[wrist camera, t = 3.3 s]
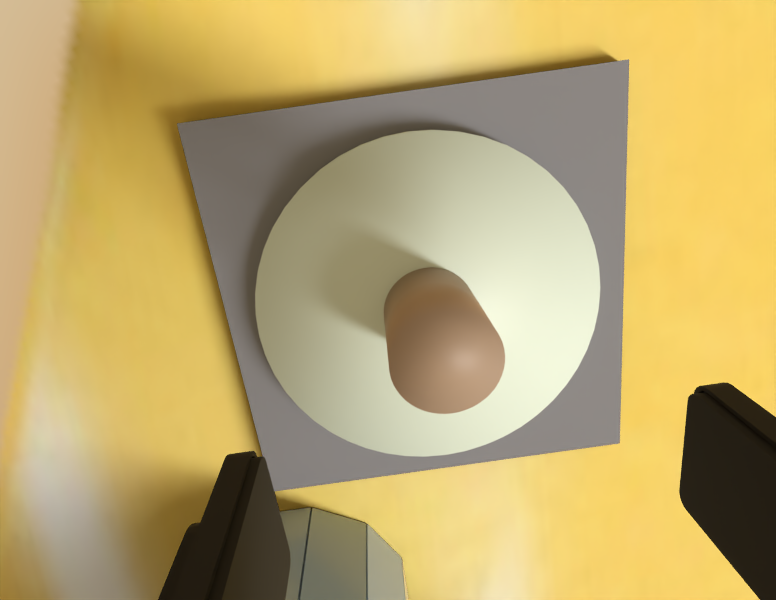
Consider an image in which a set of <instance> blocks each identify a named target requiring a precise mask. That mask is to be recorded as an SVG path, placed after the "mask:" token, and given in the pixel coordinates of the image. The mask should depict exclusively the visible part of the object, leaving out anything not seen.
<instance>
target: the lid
mask: <svg viewBox="0 0 776 600" xmlns="http://www.w3.org/2000/svg"><path fill="white" fill-rule="evenodd" d="M599 299H600V273H599V264H598V259H597V254H596V249H595V245H594V242H593V239H592V236H591V234H590V231H589V228H588V225H587V223H586V221H585V219H584V218H583V216H582V214H581V212H580V210H579V208H578V206H577V205H576V203H575V202H574V201H573V199H572V198H571V197H570V195H569V194H568V193H567V191H566V190H565V188H564V187H563V186H562V185H561V184H560V183H559V182H558V181H557V180H556V179H555V178H554V177H553V176H552V175H551V174H550V173H549V172H548V171H547V170H546V169H544V168H543V167H542V166H540V165H539V164H537V163H536V162H535V161H533V160H532V159H531V158H529V157H528V156H526V155H524V154H522V153H521V152H519V151H517V150H515V149H513V148H511V147H509V146H508V145H505V144H502V143H500V142H497V141H494V140H491V139H489V138H486V137H483V136H478V135H473V134H468V133H464V132H458V131H444V130H419V131H407V132H402V133H397V134H392V135H388V136H383V137H380V138H378V139H375V140H372V141H369V142H367V143H364V144H361V145H359V146H357V147H355V148H353V149H351V150H349V151H347V152H346V153H344V154H342V155H340V156H338V157H337V158H335V159H334V160H333V161H331V162H330V163H328V164H327V165H326V166H324V167H323V168H321V169H320V170H319V171H318V172H317V173H316V174H315V175H314V176H312V177H311V178H310V179H309V180H308V181H307V182H306V183H305V184H304V185H303V186H302V187H301V188H300V189H299V190H298V192H297V193H296V194H295V195H294V196H293V198H292V199H291V200H290V201H289V203H288V204H287V205H286V206H285V208H284V209H283V211H282V213H281V214H280V216H279V218H278V219H277V221H276V223H275V224H274V226H273V228H272V230H271V232H270V235H269V237H268V240H267V242H266V244H265V247H264V249H263V253H262V257H261V260H260V264H259V268H258V273H257V281H256V290H255V310H256V320H257V326H258V332H259V337H260V340H261V343H262V346H263V350H264V353H265V356H266V358H267V360H268V362H269V364H270V366H271V369H272V371H273V373H274V375H275V376H276V378H277V379H278V381H279V382H280V384H281V386H282V387H283V389H284V390H285V392H286V393H287V394H288V395H289V396H290V397H291V399H292V400H293V401H294V402H295V403H296V404H297V406H298V407H299V408H300V409H301V410H303V411H304V412H305V413H306V414H307V415H308V416H309V417H310V418H311V419H313V420H314V421H315V422H317V423H318V424H319V425H321V426H322V427H324V428H325V429H327V430H328V431H330V432H331V433H333V434H335V435H337V436H339V437H341V438H343V439H345V440H346V441H349V442H351V443H354V444H356V445H359V446H362V447H364V448H367V449H371V450H375V451H379V452H382V453H387V454H394V455H401V456H421V457H427V456H439V455H448V454H453V453H458V452H463V451H467V450H471V449H474V448H477V447H480V446H483V445H486V444H488V443H491V442H493V441H495V440H498V439H500V438H502V437H504V436H506V435H508V434H510V433H511V432H513V431H515V430H517V429H518V428H520V427H522V426H523V425H524V424H526V423H527V422H528V421H530V420H531V419H533V418H534V417H535V416H537V415H538V414H539V413H540V412H541V411H542V410H543V409H545V408H546V407H547V406H548V405H549V404H550V403H551V402H552V401H553V400H554V399H555V398H556V397H557V395H558V394H559V393H560V392H561V391H562V390H563V388H564V387H565V386H566V385H567V383H568V382H569V380H570V379H571V377H572V376H573V374H574V373H575V371H576V370H577V368H578V367H579V365H580V363H581V361H582V359H583V357H584V355H585V353H586V351H587V349H588V346H589V343H590V340H591V337H592V335H593V332H594V329H595V324H596V319H597V315H598V310H599Z"/></svg>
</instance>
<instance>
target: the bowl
mask: <svg viewBox="0 0 776 600" xmlns="http://www.w3.org/2000/svg"><path fill="white" fill-rule="evenodd" d="M280 515H281V518H282V522H283V526H284V530H285V534H286V537H287V541H288V545H289V549H290V558H291V563H290V572H289V579H288V586H287V592H286V599H285V600H409V599H408V593H407V587H406V580H405V574H404V568H403V562H402V559H401V557H400V556H399V555H398V554H397V553H396V552H395V551H394V550H393V549H392V548H391V547H390V546H389V545H388V544H387V543H386V542H385V541H384V540H383V539H382V538H381V537H380V536H379V535H378V534H377V533H376V532H375V531H374V530H373V529H372V528H371V527H370V526H369V525H368V524H367V525H366V523H363V522H360V521H357V520H353V519H350V518H346V517H343V516H340V515H336V514H333V513H329V512H326V511H323V510H319V509H316V508H312V510H311V507H310V508H303V509H295V510H288V511H281V512H280Z"/></svg>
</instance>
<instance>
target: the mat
mask: <svg viewBox="0 0 776 600" xmlns="http://www.w3.org/2000/svg"><path fill="white" fill-rule="evenodd" d="M628 84H629V60H622V61H615V62H608V63H601V64H594V65H587V66H580V67H573V68H566V69H559V70H552V71H545V72H538V73H530V74H523V75H516V76H509V77H502V78H495V79H488V80H481V81H474V82H467V83H460V84H453V85H446V86H439V87H432V88H425V89H418V90H410V91H403V92H396V93H389V94H382V95H375V96H368V97H361V98H354V99H347V100H340V101H333V102H326V103H319V104H312V105H305V106H297V107H290V108H283V109H276V110H269V111H262V112H255V113H248V114H241V115H234V116H227V117H220V118H213V119H206V120H199V121H192V122H184V123H177V126H178V130H179V134H180V138H181V142H182V145H183V149H184V153H185V157H186V161H187V165H188V169H189V173H190V176H191V180H192V184H193V188H194V192H195V196H196V200H197V204H198V207H199V211H200V215H201V219H202V223H203V227H204V231H205V235H206V238H207V242H208V246H209V250H210V254H211V258H212V262H213V265H214V269H215V273H216V277H217V281H218V285H219V289H220V293H221V296H222V300H223V304H224V308H225V312H226V316H227V320H228V324H229V327H230V331H231V335H232V339H233V343H234V347H235V351H236V354H237V358H238V362H239V366H240V370H241V374H242V378H243V382H244V385H245V389H246V393H247V397H248V401H249V405H250V409H251V413H252V416H253V420H254V424H255V428H256V432H257V436H258V440H259V444H260V447H261V451H262V455H263V457H264V458H265V459H266V462H267V466H268V470H269V473H270V477H271V481H272V485H273V488H274V491H280V490H288V489H295V488H302V487H309V486H316V485H323V484H331V483H338V482H345V481H352V480H359V479H367V478H374V477H381V476H388V475H395V474H402V473H410V472H417V471H424V470H431V469H438V468H445V467H453V466H460V465H467V464H474V463H481V462H489V461H496V460H503V459H510V458H517V457H524V456H532V455H539V454H546V453H553V452H560V451H567V450H575V449H582V448H589V447H596V446H603V445H611V444H618V443H620V409H621V368H622V328H623V287H624V246H625V206H626V165H627V125H628ZM419 130H444V131H458V132H464V133H468V134H473V135H478V136H483V137H486V138H489V139H491V140H494V141H497V142H500V143H502V144H505V145H508V146H509V147H511V148H513V149H515V150H517V151H519V152H521V153H522V154H524V155H526V156H528V157H529V158H531V159H532V160H533V161H535V162H536V163H537V164H539V165H540V166H542V167H543V168H544V169H546V170H547V171H548V172H549V173H550V174H551V175H552V176H553V177H554V178H555V179H556V180H557V181H558V182H559V183H560V184H561V185H562V186H563V187H564V188H565V190H566V191H567V193H568V194H569V195H570V197H571V198H572V199H573V201H574V202H575V203H576V205H577V206H578V208H579V210H580V212H581V214H582V216H583V218H584V219H585V221H586V223H587V225H588V228H589V231H590V234H591V236H592V239H593V242H594V245H595V249H596V254H597V259H598V264H599V273H600V299H599V310H598V315H597V319H596V324H595V329H594V332H593V335H592V337H591V340H590V343H589V346H588V349H587V351H586V353H585V355H584V357H583V359H582V361H581V363H580V365H579V367H578V368H577V370H576V371H575V373H574V374H573V376H572V377H571V379H570V380H569V382H568V383H567V385H566V386H565V387H564V388H563V390H562V391H561V392H560V393H559V394H558V395H557V397H556V398H555V399H554V400H553V401H552V402H551V403H550V404H549V405H548V406H547V407H546V408H545V409H543V410H542V411H541V412H540V413H539V414H538V415H537V416H535V417H534V418H533V419H531V420H530V421H528V422H527V423H526V424H524V425H523V426H522V427H520V428H518V429H517V430H515V431H513V432H511V433H510V434H508V435H506V436H504V437H502V438H500V439H498V440H495V441H493V442H491V443H488V444H486V445H483V446H480V447H477V448H474V449H471V450H467V451H463V452H458V453H453V454H448V455H439V456H427V457H421V456H401V455H394V454H387V453H382V452H379V451H375V450H371V449H367V448H364V447H362V446H359V445H356V444H354V443H351V442H349V441H346V440H345V439H343V438H341V437H339V436H337V435H335V434H333V433H331V432H330V431H328V430H327V429H325V428H324V427H322V426H321V425H319V424H318V423H317V422H315V421H314V420H313V419H311V418H310V417H309V416H308V415H307V414H306V413H305V412H304V411H303V410H301V409H300V408H299V407H298V406H297V404H296V403H295V402H294V401H293V400H292V399H291V397H290V396H289V395H288V394H287V393H286V392H285V390H284V389H283V387H282V386H281V384H280V382H279V381H278V379H277V378H276V376H275V375H274V373H273V371H272V369H271V366H270V364H269V362H268V360H267V358H266V356H265V353H264V350H263V346H262V343H261V340H260V337H259V332H258V326H257V320H256V310H255V290H256V281H257V273H258V268H259V264H260V260H261V257H262V253H263V249H264V247H265V244H266V242H267V240H268V237H269V235H270V232H271V230H272V228H273V226H274V224H275V223H276V221H277V219H278V218H279V216H280V214H281V213H282V211H283V209H284V208H285V206H286V205H287V204H288V203H289V201H290V200H291V199H292V198H293V196H294V195H295V194H296V193H297V192H298V190H299V189H300V188H301V187H302V186H303V185H304V184H305V183H306V182H307V181H308V180H309V179H310V178H311V177H312V176H314V175H315V174H316V173H317V172H318V171H319V170H320V169H321V168H323V167H324V166H326V165H327V164H328V163H330V162H331V161H333V160H334V159H335V158H337V157H338V156H340V155H342V154H344V153H346V152H347V151H349V150H351V149H353V148H355V147H357V146H359V145H361V144H364V143H367V142H369V141H372V140H375V139H378V138H380V137H383V136H388V135H392V134H397V133H402V132H407V131H419Z"/></svg>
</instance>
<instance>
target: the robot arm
mask: <svg viewBox="0 0 776 600" xmlns="http://www.w3.org/2000/svg"><path fill="white" fill-rule="evenodd" d="M680 498H681V501H682V503H683V505H684V507H685V509H686V510H687V511H688V513H689V514H690V515H691V516H692V517H693V519H694V520H695V521H696V522H697V523H698V525H699V526H700V527H701V528H702V530H703V531H704V532H705V533H706V534H707V536H708V537H709V538H710V539H711V541H712V542H713V543H714V544H715V545H716V547H717V548H718V549H719V550H720V551H721V553H722V554H723V555H724V556H725V558H726V559H727V560H728V561H729V562H730V564H731V565H732V566H733V567H734V569H735V570H736V571H737V572H738V573H739V575H740V576H741V577H742V578H743V579H744V581H745V582H746V583H747V584H748V586H749V587H750V588H751V589H752V590H753V592H754V593H755V594H756V595H757V597H758V598H759V599H760V600H776V417H775V416H773V415H772V414H771V413H769V412H768V411H766V410H765V409H764V408H762V407H761V406H760V405H758V404H757V403H756V402H754V401H753V400H751V399H750V398H749V397H747V396H746V395H745V394H743V393H742V392H741V391H739V390H738V389H737V388H735V387H734V386H732V385H731V384H729V383H718V384H711V385H704V386H699V387H697V388H696V390H695V392H694V394H692V395H690V396H689V398H688V404H687V415H686V426H685V436H684V447H683V458H682V468H681V479H680ZM290 563H291V558H290V549H289V545H288V541H287V537H286V534H285V530H284V526H283V522H282V518H281V515H280V511H279V507H278V503H277V500H276V496H275V492H274V488H273V485H272V481H271V477H270V473H269V470H268V466H267V462H266V459H265V458H264V457H263V456H262V457H257V455H256V453H255V452H254V451H249V452H242V453H235V454H229V455H227V456H226V458H225V460H224V462H223V465H222V468H221V470H220V473H219V476H218V478H217V481H216V483H215V486H214V489H213V491H212V494H211V497H210V499H209V502H208V504H207V507H206V510H205V512H204V515H203V518H202V520H201V523H194V524H192V525H190V526H189V527H188V529H187V531H186V533H185V535H184V537H183V540H182V542H181V545H180V547H179V550H178V552H177V555H176V557H175V560H174V562H173V564H172V567H171V569H170V572H169V574H168V577H167V579H166V582H165V584H164V587H163V589H162V591H161V594H160V596H159V599H158V600H285V599H286V592H287V586H288V579H289V572H290Z"/></svg>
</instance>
